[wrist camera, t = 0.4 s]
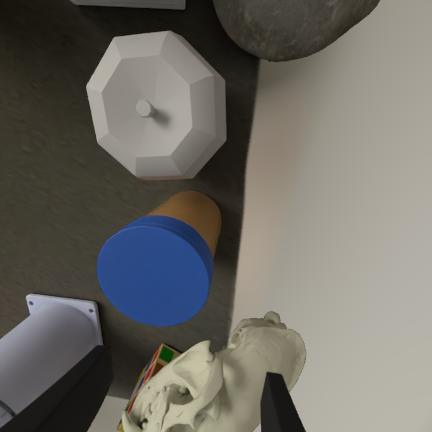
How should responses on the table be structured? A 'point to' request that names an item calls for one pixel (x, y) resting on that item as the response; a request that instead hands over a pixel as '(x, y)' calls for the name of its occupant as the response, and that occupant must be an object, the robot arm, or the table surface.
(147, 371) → the rubik's cube
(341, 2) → the stone
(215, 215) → the jar
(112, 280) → the lid
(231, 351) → the animal skull
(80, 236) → the table surface
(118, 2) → the small box
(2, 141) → the table surface
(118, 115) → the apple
